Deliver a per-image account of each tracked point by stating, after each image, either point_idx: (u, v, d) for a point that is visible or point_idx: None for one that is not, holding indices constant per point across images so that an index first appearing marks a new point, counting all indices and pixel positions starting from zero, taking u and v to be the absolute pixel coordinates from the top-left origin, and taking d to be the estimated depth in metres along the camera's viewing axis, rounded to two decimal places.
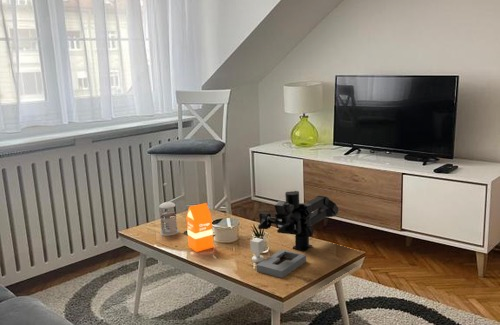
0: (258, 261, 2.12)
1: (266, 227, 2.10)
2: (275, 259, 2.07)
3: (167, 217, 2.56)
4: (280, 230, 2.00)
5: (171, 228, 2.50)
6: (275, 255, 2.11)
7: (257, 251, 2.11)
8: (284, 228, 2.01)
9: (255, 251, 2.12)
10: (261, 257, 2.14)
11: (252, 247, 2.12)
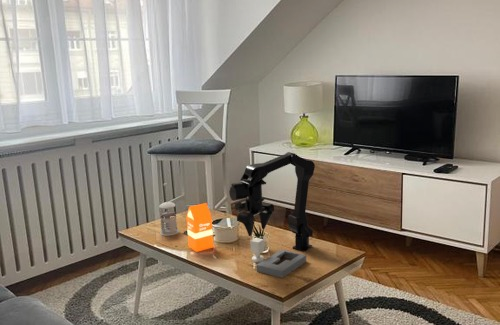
0: (258, 261, 2.12)
1: (267, 215, 2.13)
2: (275, 259, 2.07)
3: (167, 217, 2.56)
4: (249, 233, 2.08)
5: (171, 228, 2.50)
6: (275, 255, 2.11)
7: (257, 251, 2.11)
8: (247, 229, 2.07)
9: (255, 251, 2.12)
10: (261, 257, 2.14)
11: (252, 247, 2.12)
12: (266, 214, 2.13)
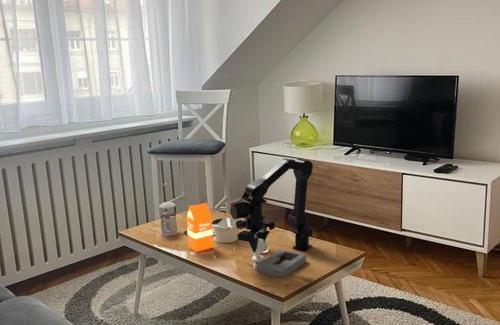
0: (258, 261, 2.12)
1: (264, 235, 2.13)
2: (275, 259, 2.07)
3: (167, 217, 2.56)
4: (253, 249, 2.11)
5: (171, 228, 2.50)
6: (275, 255, 2.11)
7: (257, 251, 2.11)
8: (251, 245, 2.10)
9: None
10: (261, 257, 2.14)
11: None
12: (263, 234, 2.13)
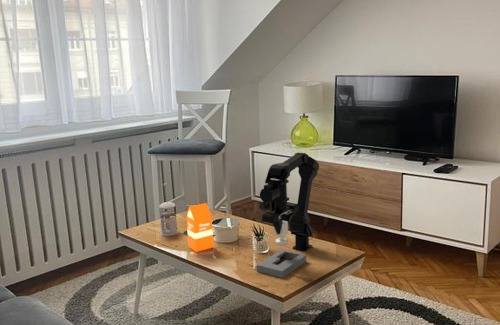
0: (282, 244, 2.07)
1: (288, 217, 2.08)
2: (275, 259, 2.07)
3: (167, 217, 2.56)
4: (277, 231, 2.07)
5: (171, 228, 2.50)
6: (275, 255, 2.11)
7: (281, 233, 2.06)
8: (275, 227, 2.06)
9: None
10: (285, 240, 2.09)
11: None
12: (287, 216, 2.08)
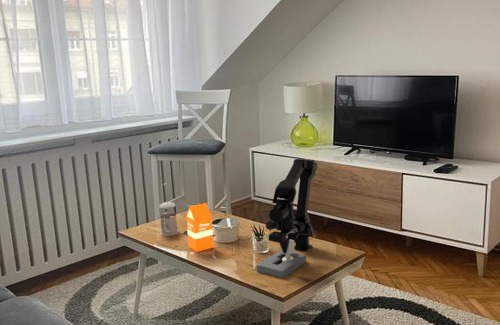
0: None
1: (294, 236, 2.09)
2: (275, 259, 2.07)
3: (167, 217, 2.56)
4: (283, 250, 2.08)
5: (171, 228, 2.50)
6: (275, 255, 2.11)
7: (288, 252, 2.07)
8: (282, 246, 2.07)
9: None
10: (291, 258, 2.10)
11: None
12: (294, 234, 2.09)
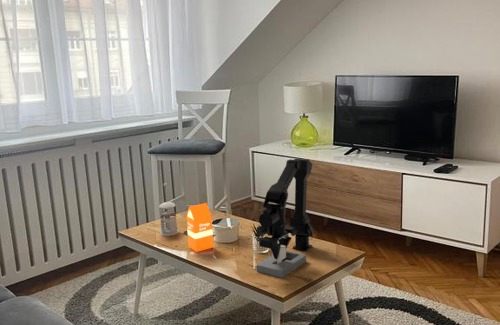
0: None
1: (286, 241, 2.04)
2: None
3: (167, 217, 2.56)
4: (274, 256, 2.03)
5: (171, 228, 2.50)
6: None
7: (279, 258, 2.02)
8: (273, 252, 2.02)
9: None
10: None
11: None
12: (285, 240, 2.05)
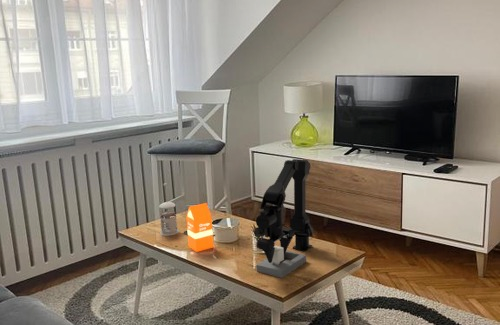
0: None
1: (287, 241, 2.05)
2: None
3: (167, 217, 2.56)
4: (269, 260, 1.99)
5: (171, 228, 2.50)
6: None
7: (277, 260, 2.01)
8: (267, 255, 1.99)
9: (275, 260, 2.02)
10: None
11: None
12: (286, 239, 2.05)
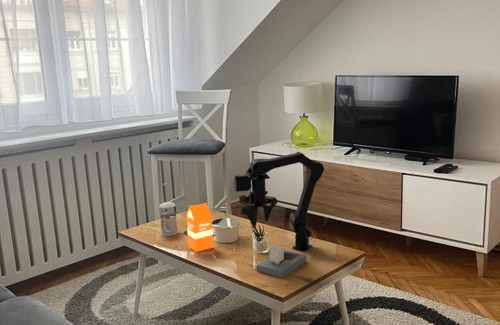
0: None
1: (270, 208, 2.20)
2: None
3: (167, 217, 2.56)
4: (252, 225, 2.15)
5: (171, 228, 2.50)
6: None
7: (277, 260, 2.01)
8: (251, 221, 2.14)
9: (274, 260, 2.02)
10: None
11: (271, 256, 2.02)
12: (269, 207, 2.20)
